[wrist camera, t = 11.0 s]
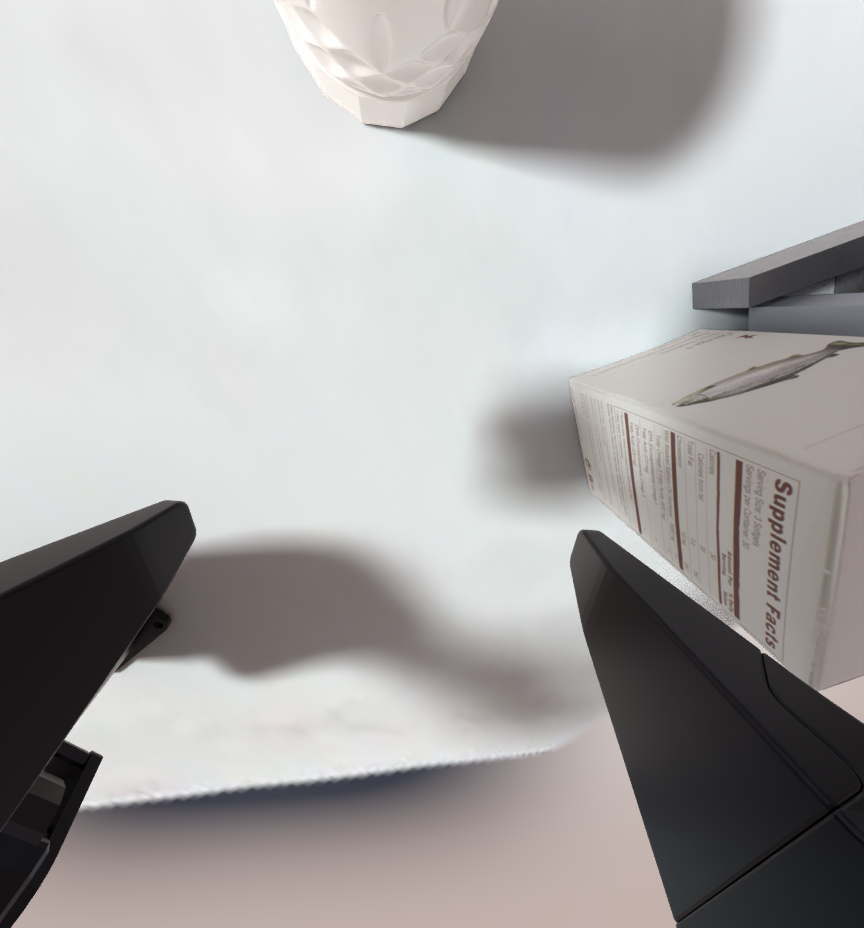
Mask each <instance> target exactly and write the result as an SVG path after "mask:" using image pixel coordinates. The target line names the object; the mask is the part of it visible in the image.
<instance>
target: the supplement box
mask: <svg viewBox="0 0 864 928" xmlns="http://www.w3.org/2000/svg"><path fill="white" fill-rule="evenodd" d="M568 382H569V387H570V392H571V398H572V404H573V408H574V414H575V419H576V424H577V429H578V435H579V440H580V445H581V450H582V455H583V460H584V465H585V471H586V475H587V481H588V485H589V490H590V492H591V493H592V494H593V495H594V496H595V497H596V498H598V499H599V500H600V501H601V502H602V503H603V504H604V505H605V506H606V507H607V508H609V509H610V510H611V511H612V512H613V513H614V514H615V515H616V516H617V517H618V518H619V519H620V520H621V521H623V522H624V523H625V524H626V525H627V526H628V527H629V528H631V529H632V530H633V531H634V532H635V533H636V534H637V535H638V536H639V537H641V538H642V539H643V540H644V541H645V542H646V543H647V544H648V545H650V546H651V547H652V548H653V549H654V550H655V551H656V552H657V553H659V554H660V555H661V556H662V557H663V558H664V559H665V560H667V561H668V562H669V563H670V564H671V565H672V566H673V567H674V568H676V569H677V570H678V571H679V572H680V573H681V574H682V575H683V576H684V577H686V578H687V579H688V580H689V581H690V582H691V583H692V584H694V585H695V586H696V587H697V588H698V589H699V590H700V591H702V592H703V593H704V594H705V595H706V596H707V597H708V598H709V599H711V600H712V601H713V602H714V603H715V604H716V605H717V606H718V607H720V608H721V609H722V610H723V611H724V612H725V613H726V614H727V615H728V616H730V617H731V618H732V619H733V620H734V621H735V622H736V623H737V624H739V625H740V626H741V627H742V628H743V629H744V630H745V631H746V632H748V633H749V634H750V635H751V636H752V637H753V638H754V639H755V640H756V641H758V642H759V643H760V644H761V645H762V646H763V647H764V648H765V649H766V650H768V652H770V653H771V654H772V655H773V656H774V657H775V658H776V659H777V660H778V661H779V662H780V663H781V664H782V665H783V666H785V667H786V668H787V669H788V670H789V671H790V672H791V673H792V674H794V675H795V676H796V677H798V678H799V679H801V680H802V681H803V682H805V683H806V684H808V685H809V686H810V687H812V688H813V689H815V690H816V691H820V690H824V689H827V688H829V687H832V686H835V685H838V684H841V683H844V682H847V681H850V680H852V679H855V678H858V677H861V676H863V675H864V337H854V336H835V335H815V334H794V333H773V332H756V331H736V330H712V329H699V330H696V331H694V332H691V333H689V334H687V335H684V336H682V337H680V338H677V339H675V340H673V341H670V342H668V343H665V344H663V345H660V346H658V347H655V348H653V349H650V350H648V351H645V352H642V353H640V354H637V355H634V356H631V357H629V358H626V359H623V360H620V361H617V362H615V363H612V364H609V365H606V366H604V367H601V368H598V369H595V370H592V371H589V372H586V373H583V374H580V375H577V376H574V377H571V378H569V379H568Z"/></svg>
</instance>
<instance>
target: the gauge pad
mask: <svg viewBox="0 0 864 928" xmlns="http://www.w3.org/2000/svg"><path fill="white" fill-rule="evenodd" d="M748 331H756V332H773V333H794V334H815V335H835V336H854V337H864V293H844V294H823V295H801V296H780V297H777V298H775V299H772V300H769V301H766V302H764V303H761V304H758V305H755V306H753V307H750V308H749V322H748Z"/></svg>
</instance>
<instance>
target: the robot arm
mask: <svg viewBox="0 0 864 928" xmlns="http://www.w3.org/2000/svg"><path fill="white" fill-rule="evenodd" d="M195 537H196V528H195V525H194V522H193V519H192V516H191V513H190V510H189V507H188V505H187V504H186V503H185V502H183V501H172V500H165V501H161V502H159V503H156V504H153V505H151V506H148V507H146V508H143V509H140V510H138V511H135V512H132V513H130V514H127V515H124V516H122V517H119V518H116V519H114V520H111V521H109V522H106V523H103V524H101V525H98V526H95V527H93V528H90V529H87V530H85V531H82V532H79V533H77V534H74V535H71V536H69V537H66V538H64V539H61V540H58V541H56V542H53V543H50V544H48V545H45V546H42V547H40V548H37V549H34V550H32V551H29V552H26V553H24V554H21V555H19V556H16V557H13V558H11V559H8V560H5V561H3V562H0V928H11V927H12V925H13V924H14V923H15V921H16V920H17V919H18V917H19V916H20V915H21V913H22V912H23V911H24V909H25V908H26V906H27V905H28V903H29V902H30V900H31V899H32V898H33V896H34V895H35V893H36V891H37V890H38V889H39V887H40V885H41V883H42V882H43V880H44V879H45V877H46V875H47V874H48V872H49V870H50V868H51V866H52V865H53V863H54V861H55V859H56V857H57V855H58V853H59V851H60V848H61V846H62V844H63V842H64V840H65V838H66V835H67V833H68V831H69V829H70V827H71V825H72V823H73V821H74V818H75V816H76V814H77V812H78V810H79V808H80V806H81V803H82V801H83V799H84V797H85V795H86V793H87V791H88V788H89V786H90V784H91V782H92V780H93V778H94V776H95V773H96V771H97V769H98V767H99V765H100V763H101V761H102V758H103V756H102V755H100V754H98V753H96V752H94V751H91V752H88V751H86V750H84V749H82V748H80V747H78V746H76V745H74V744H72V743H70V742H68V741H66V740H64V739H65V738H66V736H67V735H68V733H69V732H70V730H71V729H72V728H73V726H74V725H75V723H76V722H77V721H78V719H79V718H80V717H81V715H82V714H83V713H84V712H85V710H86V709H87V708H88V706H89V705H90V704H91V702H92V701H93V700H94V698H95V697H96V696H97V694H98V693H99V692H100V690H101V689H102V688H103V686H104V685H105V684H106V682H107V681H108V680H109V679H110V677H111V676H112V675H113V673H114V672H115V671H117V670H118V669H119V668H120V667H122V666H123V665H124V664H125V663H126V662H128V661H129V660H130V659H131V658H132V657H134V656H135V655H136V654H137V653H139V652H140V651H141V650H142V649H143V648H145V647H146V646H147V645H148V644H150V643H151V642H152V641H153V640H154V639H156V638H157V637H158V636H159V635H161V634H162V633H163V632H164V631H165V630H166V629H167V628H168V627H169V625H170V624H171V622H172V619H171V617H170V616H168V615H167V614H165V613H164V612H162V611H161V610H159V609H157V608H156V606H157V604H158V603H159V601H160V600H161V598H162V597H163V595H164V593H165V592H166V590H167V588H168V587H169V585H170V583H171V581H172V579H173V578H174V576H175V574H176V572H177V570H178V569H179V567H180V565H181V563H182V561H183V560H184V558H185V556H186V554H187V552H188V551H189V549H190V547H191V545H192V543H193V542H194V540H195ZM570 567H571V573H572V578H573V583H574V588H575V593H576V598H577V603H578V608H579V613H580V618H581V623H582V628H583V632H584V635H585V639H586V642H587V645H588V648H589V652H590V655H591V658H592V661H593V664H594V667H595V671H596V674H597V677H598V680H599V683H600V686H601V690H602V693H603V696H604V699H605V702H606V705H607V708H608V712H609V715H610V718H611V721H612V724H613V727H614V731H615V734H616V737H617V740H618V743H619V746H620V750H621V752H622V756H623V759H624V762H625V765H626V769H627V771H628V775H629V778H630V781H631V784H632V787H633V790H634V794H635V797H636V800H637V803H638V806H639V809H640V813H641V816H642V819H643V822H644V825H645V828H646V832H647V835H648V838H649V841H650V844H651V848H652V851H653V854H654V857H655V860H656V863H657V866H658V869H659V873H660V876H661V879H662V882H663V885H664V888H665V892H666V895H667V898H668V901H669V904H670V907H671V911H672V914H673V917H674V919H675V921H676V922H678V923H677V924H676V927H677V928H864V724H863V723H862V722H860V721H859V720H857V719H856V718H855V717H853V716H852V715H850V714H849V713H847V712H846V711H844V710H843V709H842V708H840V707H839V706H837V705H836V704H834V703H833V702H831V701H830V700H828V699H827V698H826V697H824V696H823V695H821V694H820V693H819V692H817V691H816V690H815V689H813V688H812V687H810V686H809V685H808V684H806V683H805V682H803V681H802V680H801V679H799V678H798V677H796V676H795V675H794V674H792V673H791V672H790V671H788V670H787V669H786V668H784V667H783V666H781V665H780V664H779V663H777V662H776V661H775V660H773V659H772V658H771V657H769V656H768V655H767V654H765V653H761V651H760V650H759V649H758V648H757V647H756V646H754V645H753V644H752V643H750V642H749V641H747V640H746V639H745V638H743V637H742V636H741V635H739V634H738V633H737V632H735V631H734V630H733V629H731V628H730V627H729V626H727V625H726V624H725V623H723V622H722V621H721V620H719V619H718V618H717V617H715V616H714V615H712V614H711V613H710V612H708V611H707V610H706V609H704V608H703V607H702V606H700V605H699V604H698V603H696V602H695V601H694V600H692V599H691V598H690V597H688V596H687V595H685V594H684V593H683V592H681V591H680V590H679V589H677V588H676V587H675V586H673V585H672V584H671V583H669V582H668V581H667V580H665V579H664V578H662V577H661V576H660V575H658V574H657V573H656V572H654V571H653V570H652V569H650V568H649V567H648V566H646V565H645V564H644V563H642V562H641V561H640V560H638V559H637V558H635V557H634V556H633V555H631V554H630V553H629V552H627V551H626V550H625V549H623V548H622V547H621V546H619V545H618V544H617V543H615V542H614V541H613V540H611V539H610V538H608V537H607V536H606V535H604V534H603V533H602V532H600V531H596V530H581V531H580V532H579V533H578V535H577V538H576V541H575V545H574V548H573V551H572V554H571V559H570ZM160 622H161V623H160Z"/></svg>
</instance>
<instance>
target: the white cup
mask: <svg viewBox="0 0 864 928" xmlns="http://www.w3.org/2000/svg"><path fill="white" fill-rule="evenodd" d="M273 2H274V4H275V6H276V8H277V10H278V11H279V13H280V15H281V17H282V19H283V21H284V24H285V26H286V29H287V31H288V34H289V36H290V39H291V41H292V44H293V46H294V48H295V50H296V51H297V53H298V55H299V56H300V58H301V59H302V61H303V63H304V64H305V66H306V67H307V69H308V71H309V72H310V74H311V75H312V77H313V79H314V80H315V82H316V83H317V85H318V87H319V88H320V90H321V91H322V93H323V95H324V96H325V97H327V98H328V99H329V100H331V101H332V102H334V103H335V104H336V105H338V106H339V107H340V108H342V109H343V110H345V111H346V112H347V113H349V114H350V115H352V116H353V117H354V118H356V119H357V120H359V121H360V122H361V123H364V124H373V125H381V126H389V127H397V128H403V127H405V126H408V125H410V124H412V123H414V122H416V121H418V120H420V119H422V118H424V117H426V116H428V115H430V114H432V113H434V112H436V111H438V110H439V109H440V108H441V106H442V105H443V103H444V102H445V101H446V99H447V98H448V96H449V95H450V94H451V92H452V91H453V89H454V88H455V87H456V85H457V84H458V82H459V81H460V80H461V78H462V77H463V75H464V74H465V72H466V70H467V68H468V65H469V63H470V60H471V58H472V55H473V53H474V50H475V48H476V46H477V44H478V42H479V40H480V39H481V37H482V35H483V33H484V31H485V29H486V27H487V25H488V23H489V21H490V19H491V17H492V15H493V13H494V11H495V9H496V7H497V4H498V2H499V0H273Z"/></svg>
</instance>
